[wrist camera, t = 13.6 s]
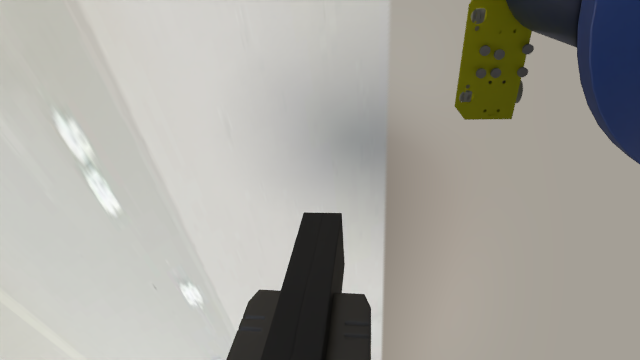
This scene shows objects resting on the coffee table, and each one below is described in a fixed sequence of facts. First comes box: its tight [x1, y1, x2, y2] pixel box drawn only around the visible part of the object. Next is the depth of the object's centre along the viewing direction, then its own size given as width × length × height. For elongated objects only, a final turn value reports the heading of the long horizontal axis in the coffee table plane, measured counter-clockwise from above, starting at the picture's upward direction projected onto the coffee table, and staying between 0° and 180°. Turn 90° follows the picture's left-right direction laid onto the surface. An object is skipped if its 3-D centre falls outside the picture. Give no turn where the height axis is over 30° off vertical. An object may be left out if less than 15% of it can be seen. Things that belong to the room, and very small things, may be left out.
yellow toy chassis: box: [455, 0, 534, 120], centre depth 45 cm, size 16×6×8 cm
